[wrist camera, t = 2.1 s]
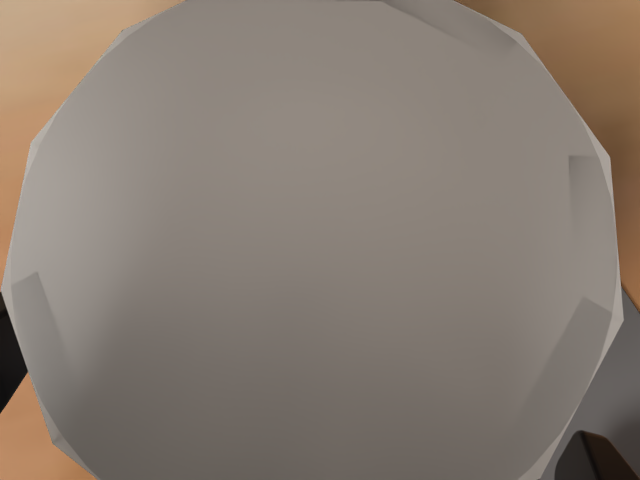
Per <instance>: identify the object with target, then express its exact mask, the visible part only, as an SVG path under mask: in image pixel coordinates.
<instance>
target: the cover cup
mask: <svg viewBox="0 0 640 480" xmlns="http://www.w3.org/2000/svg"><path fill="white" fill-rule="evenodd" d="M1 293H2V296H3V299H4V302H5V305H6V308H7V311H8V314H9V316H10V319H11V322H12V325H13V328H14V331H15V334H16V337H17V340H18V343H19V346H20V349H21V352H22V355H23V358H24V361H25V364H26V367H27V370H28V372H29V375H30V378H31V381H32V384H33V387H34V390H35V393H36V396H37V399H38V402H39V405H40V408H41V411H42V414H43V417H44V420H45V423H46V426H47V428H48V431H49V434H50V437H51V440H52V443H53V444H54V445H55V446H56V447H58V448H59V449H60V450H61V451H63V452H64V453H65V454H66V455H68V456H69V457H70V458H71V459H73V460H74V461H75V462H76V463H78V464H79V465H80V466H81V467H83V468H84V469H85V470H87V471H88V472H89V473H90V474H92V475H93V476H94V477H95V478H97V479H98V480H537V479H539V478H541V476H542V474H543V472H544V470H545V468H546V466H547V464H548V463H549V461H550V459H551V457H552V455H553V453H554V451H555V449H556V447H557V446H558V444H559V442H560V440H561V438H562V436H563V434H564V432H565V430H566V429H567V427H568V425H569V423H570V421H571V419H572V417H573V415H574V413H575V412H576V410H577V408H578V406H579V404H580V402H581V400H582V398H583V396H584V395H585V393H586V391H587V389H588V387H589V385H590V383H591V381H592V379H593V378H594V376H595V374H596V372H597V370H598V368H599V366H600V364H601V362H602V361H603V359H604V357H605V355H606V353H607V351H608V349H609V347H610V345H611V344H612V342H613V340H614V338H615V336H616V334H617V332H618V330H619V328H620V326H621V325H622V323H623V321H624V317H623V305H622V293H621V281H620V269H619V257H618V246H617V234H616V222H615V210H614V198H613V186H612V174H611V162H610V156H609V155H608V154H607V152H606V151H605V149H604V148H603V147H602V145H601V144H600V142H599V141H598V140H597V138H596V137H595V135H594V134H593V133H592V131H591V130H590V128H589V127H588V126H587V124H586V123H585V121H584V120H583V119H582V117H581V116H580V114H579V113H578V112H577V110H576V109H575V107H574V106H573V105H572V103H571V102H570V101H569V99H568V98H567V96H566V95H565V94H564V92H563V91H562V89H561V88H560V87H559V85H558V84H557V82H556V81H555V80H554V78H553V77H552V75H551V74H550V73H549V71H548V70H547V68H546V67H545V66H544V64H543V63H542V61H541V60H540V59H539V57H538V56H537V54H536V53H535V52H534V50H533V49H532V47H531V46H530V45H529V43H528V42H527V41H526V39H525V38H524V36H523V35H522V34H521V33H519V32H517V31H515V30H513V29H511V28H509V27H507V26H505V25H503V24H501V23H499V22H497V21H495V20H493V19H491V18H489V17H487V16H484V15H482V14H480V13H478V12H476V11H474V10H472V9H470V8H468V7H466V6H464V5H462V4H460V3H458V2H456V1H454V0H186V1H184V2H182V3H180V4H177V5H175V6H173V7H171V8H169V9H167V10H165V11H163V12H160V13H158V14H156V15H154V16H152V17H150V18H148V19H146V20H143V21H141V22H139V23H137V24H135V25H133V26H131V27H128V28H126V29H124V30H122V32H121V33H120V34H119V35H118V36H117V38H116V39H115V40H114V41H113V43H112V44H111V45H110V46H109V47H108V49H107V50H106V51H105V52H104V54H103V55H102V56H101V57H100V59H99V60H98V61H97V62H96V63H95V65H94V66H93V67H92V68H91V70H90V71H89V72H88V73H87V74H86V76H85V77H84V78H83V79H82V81H81V82H80V83H79V84H78V85H77V87H76V88H75V89H74V90H73V92H72V93H71V94H70V95H69V97H68V98H67V99H66V100H65V101H64V103H63V104H62V105H61V106H60V108H59V109H58V110H57V111H56V112H55V114H54V115H53V116H52V117H51V119H50V120H49V121H48V122H47V123H46V125H45V126H44V127H43V128H42V130H41V131H40V132H39V133H38V135H37V136H36V137H35V138H34V139H33V141H32V142H31V145H30V150H29V155H28V160H27V165H26V170H25V174H24V179H23V184H22V189H21V194H20V199H19V204H18V209H17V213H16V218H15V223H14V228H13V233H12V238H11V243H10V247H9V252H8V257H7V262H6V267H5V272H4V277H3V282H2V286H1Z"/></svg>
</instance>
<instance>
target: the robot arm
mask: <svg viewBox="0 0 640 480" xmlns="http://www.w3.org/2000/svg"><path fill="white" fill-rule="evenodd" d="M27 372H28V370H27V367H26V364H25V361H24V358H23V355H22V352H21V349H20V346H19V343H18V340H17V337H16V334H15V331H14V328H13V325H12V322H11V319H10V316H9V314H8V311H7V308H6V305H5V302H4V299H3V296H2V293H1V292H0V413H1V412H2V410H3V409H4V407H5V406H6V405H7V403H8V402H9V400H10V399H11V397H12V396H13V394H14V392H15V391H16V389H17V388H18V386H19V385H20V383H21V382H22V380H23V378H24V377H25V375H26V374H27ZM554 480H640V478H639V476H638V475H637V474H636V473H635V471H634V470H633V469H632V468H631V466H630V465H629V464H628V463H627V461H626V460H625V459H624V458H623V456H622V455H621V454H620V453H619V451H618V450H617V449H616V448H615V446H614V445H613V444H612V443H611V441H610V440H609V439H607V438H606V437H605V436H602V435H599V434H595V433H591V432H587V431H583V430H578V431H576V432H575V433H574V434H573V436H572V437H571V439H570V441H569V442H568V444H567V446H566V448H565V449H564V451H563V453H562V454H561V456H560V458H559V460H558V462H557V464H556V468H555V474H554Z"/></svg>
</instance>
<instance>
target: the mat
mask: <svg viewBox="0 0 640 480" xmlns="http://www.w3.org/2000/svg"><path fill="white" fill-rule="evenodd" d="M621 293H622V305H623V317H624V321H623V323H622V325H621V326H620V328H619V330H618V332H617V334H616V336H615V338H614V340H613V342H612V344H611V345H610V347H609V349H608V351H607V353H606V355H605V357H604V359H603V361H602V362H601V364H600V366H599V368H598V370H597V372H596V374H595V376H594V378H593V379H592V381H591V383H590V385H589V387H588V389H587V391H586V393H585V395H584V396H583V398H582V400H581V402H580V404H579V406H578V408H577V410H576V412H575V413H574V415H573V417H572V419H571V421H570V423H569V425H568V427H567V429H566V430H565V432H564V434H563V436H562V438H561V440H560V442H559V444H558V446H557V447H556V449H555V451H554V453H553V455H552V457H551V459H550V461H549V463H548V464H547V466H546V468H545V470H544V472H543V474H542V476H541V478H539V479H537V480H554V474H555V468H556V464H557V462H558V460H559V458H560V456H561V454H562V453H563V451H564V449H565V448H566V446H567V444H568V442H569V441H570V439H571V437H572V436H573V434H574V433H575V432H576V431H578V430H583V431H587V432H591V433H595V434H599V435H602V436H605V437H606V438H607V439H609V440H610V441H611V443H612V444H613V445H614V446H615V448H616V449H617V450H618V451H619V453H620V454H621V455H622V456H623V458H624V459H625V460H626V461H627V463H628V464H629V465H630V466H631V468H632V469H633V470H634V471H635V473H636V474H637V475H638V476H639V478H640V313H639V312H638V310H637V309H636V307H635V306H634V305H633V303H632V302H631V300H630V299H629V297H628V296H627V294H626V293H625V291H624V290H623V288H622V287H621Z"/></svg>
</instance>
